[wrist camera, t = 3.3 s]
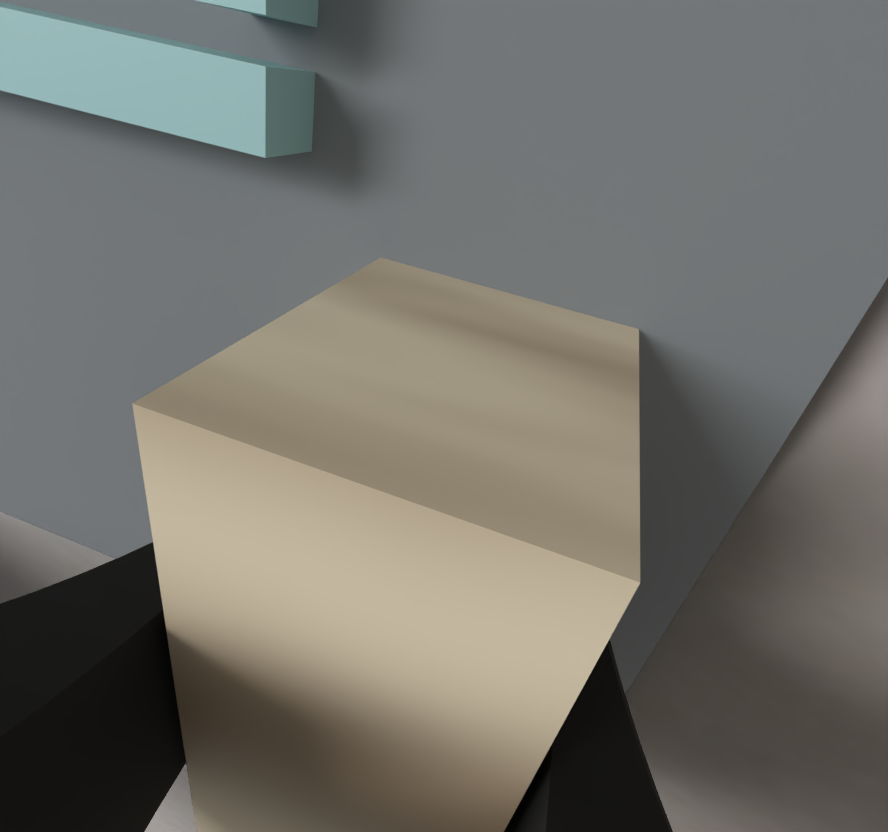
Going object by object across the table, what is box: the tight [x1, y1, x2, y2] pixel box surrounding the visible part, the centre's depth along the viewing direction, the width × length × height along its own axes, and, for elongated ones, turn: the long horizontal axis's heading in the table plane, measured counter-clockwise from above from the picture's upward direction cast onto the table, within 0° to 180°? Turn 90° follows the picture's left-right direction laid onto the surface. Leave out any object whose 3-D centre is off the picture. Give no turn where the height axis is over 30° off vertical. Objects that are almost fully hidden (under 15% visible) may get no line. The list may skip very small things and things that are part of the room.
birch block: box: [132, 258, 640, 832], centre depth 8 cm, size 9×4×5 cm, turn 170°
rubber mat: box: [0, 0, 888, 695], centre depth 9 cm, size 20×21×1 cm
